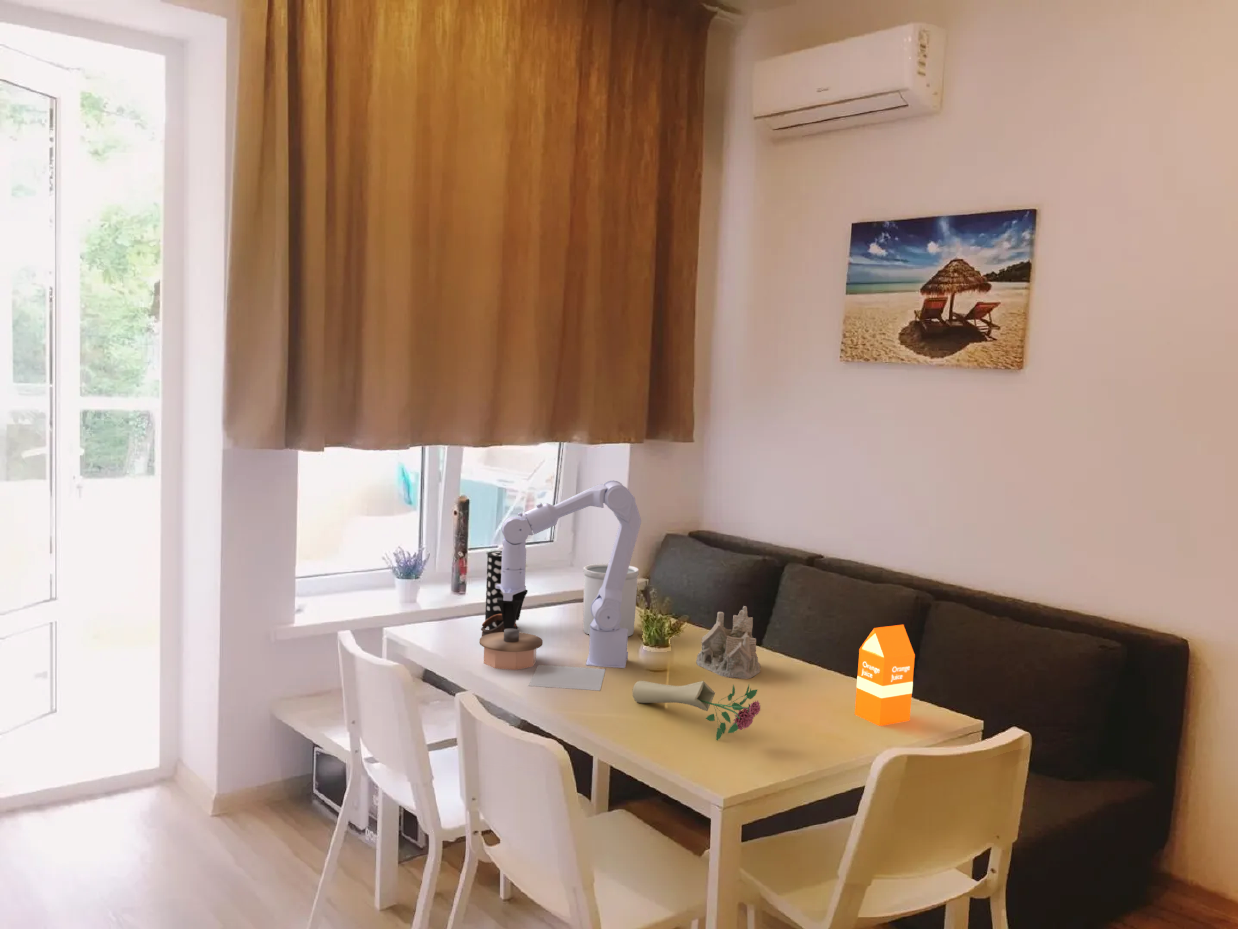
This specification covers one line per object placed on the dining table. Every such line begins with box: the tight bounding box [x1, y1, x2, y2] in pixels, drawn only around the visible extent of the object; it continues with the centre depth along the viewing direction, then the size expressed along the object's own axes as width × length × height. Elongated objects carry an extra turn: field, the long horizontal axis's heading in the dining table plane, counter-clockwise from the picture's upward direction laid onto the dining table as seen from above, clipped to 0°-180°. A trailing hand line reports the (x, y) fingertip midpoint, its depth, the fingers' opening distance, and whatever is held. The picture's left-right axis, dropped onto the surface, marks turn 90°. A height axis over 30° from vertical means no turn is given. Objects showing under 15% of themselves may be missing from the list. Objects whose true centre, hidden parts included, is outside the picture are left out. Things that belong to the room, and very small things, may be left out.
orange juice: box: [854, 624, 916, 727], centre depth 223 cm, size 8×9×20 cm
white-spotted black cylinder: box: [484, 550, 517, 630], centre depth 281 cm, size 8×8×20 cm
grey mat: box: [527, 664, 606, 692], centre depth 240 cm, size 16×16×1 cm
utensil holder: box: [582, 563, 640, 637], centre depth 281 cm, size 15×15×18 cm
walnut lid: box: [478, 628, 543, 652], centre depth 249 cm, size 15×15×3 cm
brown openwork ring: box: [480, 614, 520, 637], centre depth 268 cm, size 12×10×8 cm
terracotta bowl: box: [483, 647, 537, 671], centre depth 249 cm, size 12×12×5 cm
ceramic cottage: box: [696, 605, 761, 680], centre depth 254 cm, size 16×16×15 cm
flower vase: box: [632, 680, 761, 741], centre depth 212 cm, size 12×12×35 cm
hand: (511, 624), depth 249 cm, fingers open, 7 cm apart
